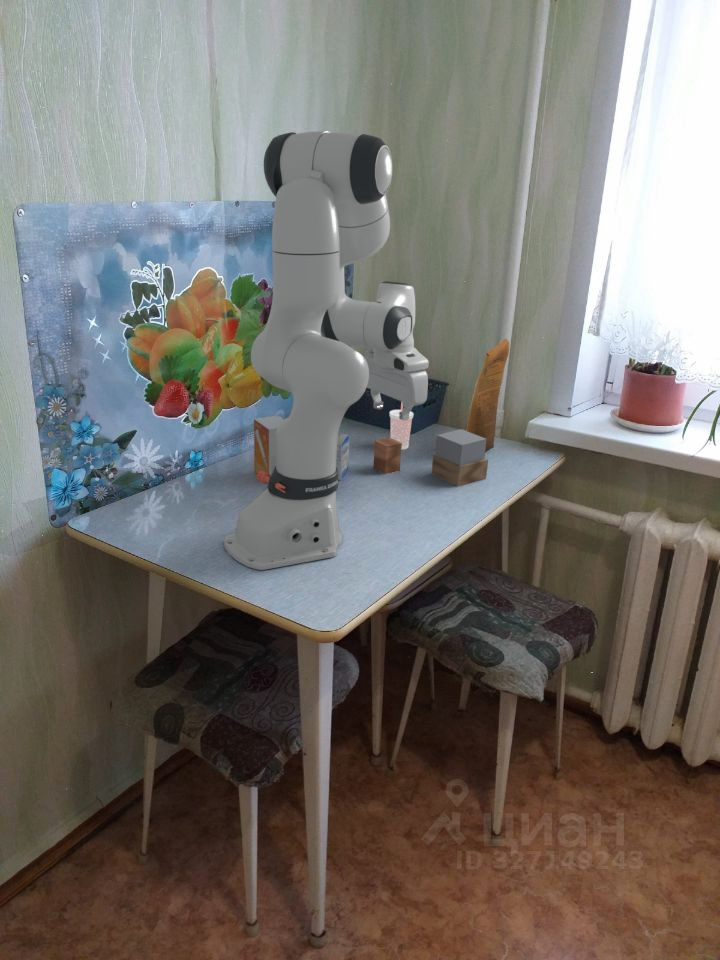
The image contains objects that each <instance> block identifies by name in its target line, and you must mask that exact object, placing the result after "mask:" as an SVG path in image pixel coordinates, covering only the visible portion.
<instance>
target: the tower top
mask: <svg viewBox="0 0 720 960" xmlns="http://www.w3.org/2000/svg"><path fill="white" fill-rule="evenodd" d="M486 440H487V439H486V438H483V437H480V436H478V435H475V434H473V433H470V432H467V431H465V429H460V428H459V429H456V430H453V431H448V432H444V433H440V434H437V435H436V443H435V452H434V453H435V455H436V456H438V457H440V458H443V459H445V460H447V461H449V462H452V463H454V464H456V465H459V466H462V465H466V464H469V463H473V462H476V461H480V460H483V459H484V458H485V456H486V455H485V454H486V452H485V448H486Z"/></svg>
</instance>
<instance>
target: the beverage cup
mask: <svg viewBox="0 0 720 960" xmlns="http://www.w3.org/2000/svg"><path fill="white" fill-rule="evenodd" d="M400 403H401V404H400V409H392V410H390V411H389V418H390V438H392V439H394V440H396V441H399V442H401V443H402V448H401V451H402V450H407V449H408V448H409V443H410V437H411V436H410V435H411V429H412V421H413V418H414V415H415V414H414V412H413V411H412V410H411V411H410V412H409V419H408V420H405V421H404V420H401V419H399V416H400V415H399V412H401V411H403V408H404V406H403V402H402V401H400Z"/></svg>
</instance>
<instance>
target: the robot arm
mask: <svg viewBox="0 0 720 960" xmlns="http://www.w3.org/2000/svg"><path fill="white" fill-rule="evenodd" d="M393 170H394V169H393V156H392V154H391V151H390V148H389V147H388V145H387V144H386V143H385V141H384V140H383V139H382V138H380V137H377V136H375V135H370V134H366V133H363V134H359V135H357V134H351V133H345V132H343V133H342V132H331V131H327V130H322V131H321V130H319V131H307V132H299V133H296V132H293V131H292V132H286V133H282V134H279V135H277V136H275V137H273V138H272V139H271V141H270V142H269V143H268V145H267V147H266V150H265V152H264V157H263V172H264V178H265V181H266V184H267V186H268V188H269V189H270V192H271V193H272V194H273V195H274V197H275V201H274V208H273V209H274V210H273V219H272V228H271V229H272V232H271V233H272V234H271V242H272V243H271V245H272V246H271V250H272V252H271V253H272V299H271V300H272V302H271V307H270V311H269V316H268V319H267V322H266V325H265V327H264V329H263V330H262V331H261V332H260V333H259V334H258V335H257V336H256V338H255V340H254V341H253V343H252V346H251V350H250V361H251V365H252V368H253V369H254V371H255V373H257V374H258V375H259V376H260V377H261V378H262V379H264V381H266V382H267V383H269V384H270V385H271V386H274V387H275V388H279V389H281V390H284V391H286V392H288V393H291V394H292V398H293V403H292V407H291V408H292V409H291V411H290V414H289V416H288V417H286V418H285V419H284V420H283V421H282V422H281V423H280V424H279V426H278V427H277V430H276V466H275V467H274V470H273V472H272V475H271V477H270V475H269V474H268V473H266V472H265V471H259V472H258V473H259V474H257V473H256V480H257V481H258V482H261V483H262V484H266V485H267V486H266V487H267V488H266V489H265V490H264V491H262V493H261V494H259V495H258V497H256V498H255V499H254V500H253V501H252V502H250V504H248V506H246V507H245V508H244V509H243V510H241V512H240V513H239V515H238V518H237V522H236V527H235V531H234V532H232V533H230V534H227V535H226V536H224V540H223V547H224V549H225V550H226V552H227V553H228V555H230V557H232V558H233V559H235V561H237V562H239V563H240V564H242V565H243V566H245V567H248V568H251V569H255V570H259V571H264V570H269V569H271V570H272V569H275V568H280V567H286V566H290V565H291V566H292V565H296V564H303V563H307V562H314V561H319V560H324V559H329V558H334V557H336V556H337V553H338V549H337V548H338V547H339V545H341V543H342V542H343V533H342V531H341V526H340V521H339V514H338V506H337V505H338V504H337V491H338V487H339V480H338V468H337V467H336V458H337V442H338V434H339V432H340V427H341V423H342V421H343V418H344V416H345V414H346V412H347V411H348V409H349V408H350V406H352V405H354V404H355V403H356V402H358V401H360V399H361V398H362V396H363V395H364V393H366V392H365V391H366V389H370V395H371V398H372V401H373V408H374V409H375V410H378V411H380V410H383V409H384V401H382V397H381V394H383V395H384V396H386V397H390V398H392V399H394V400H396V401H400V402H401V401H402V402H403V411H401V412H399V415H400V416H399V419H401V420H404V421H405V420H408V419H409V412H410V411H411V412H412V410H413V408H414V407H415V406H420V405H424V404H425V402H426V401H427V399H428V389H429V388H428V387H429V378H428V377H429V376H428V373H427V371H426V370H427V369H428V368H429V364H430V363H429V360H428V358H427V357H425V356H424V355H423V354H422V353H421V352H419V350H418V349H417V348H416V347H415V340H414V333H413V332H414V328H415V324H416V293H415V289H414V286H412V284H410V283H406V282H400V281H399V282H398V281H387V280H385V281H382V282H380V283H379V285H378V289H377V295H376V301H370V300H369V301H367V300H360V299H353V298H351V297H349V296H347V294H346V291H345V290H346V287H345V286H346V285H345V267H346V266H348V265H352V264H354V263H355V264H356V263H358V262H362V261H365V260H367V259H369V258H370V257H372V256H374V255H375V254H376V253H378V252H379V251H380V250H381V249H382V248H383V247H384V246H385V244H386V243H387V241H388V238H389V236H390V231H391V219H390V211H389V205H388V204H389V203H388V199H387V193H388V191H389V190H390V187H391V183H392V179H393ZM322 335H323V336H322ZM352 347H357V348H358V347H359V348H364V349H365V348H366V349H365V351H364V355H362V353H360V352H359V351H357V350H356V349H354V348H352Z"/></svg>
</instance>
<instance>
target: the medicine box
mask: <svg viewBox="0 0 720 960" xmlns="http://www.w3.org/2000/svg"><path fill="white" fill-rule="evenodd" d="M349 454H350V435H349V434H348V433H347V434H345V433H338V442H337V458H336V467H337V468H338V481H342V479H343V478H344V476H345V474H346V472H347V471H348V470H349V457H350V455H349Z"/></svg>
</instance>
